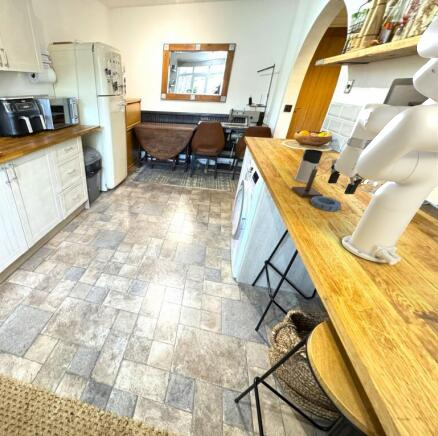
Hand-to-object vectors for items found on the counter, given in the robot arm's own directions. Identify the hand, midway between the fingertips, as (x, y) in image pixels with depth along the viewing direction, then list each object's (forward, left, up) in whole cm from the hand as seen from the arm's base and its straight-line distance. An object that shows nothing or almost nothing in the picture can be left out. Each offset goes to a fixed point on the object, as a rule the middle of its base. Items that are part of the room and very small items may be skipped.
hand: (339, 188), depth 92 cm
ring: (+3, 0, -9) cm, 10 cm away
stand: (+15, +1, -9) cm, 18 cm away
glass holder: (+31, -9, -9) cm, 33 cm away
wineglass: (+23, -21, -7) cm, 33 cm away
